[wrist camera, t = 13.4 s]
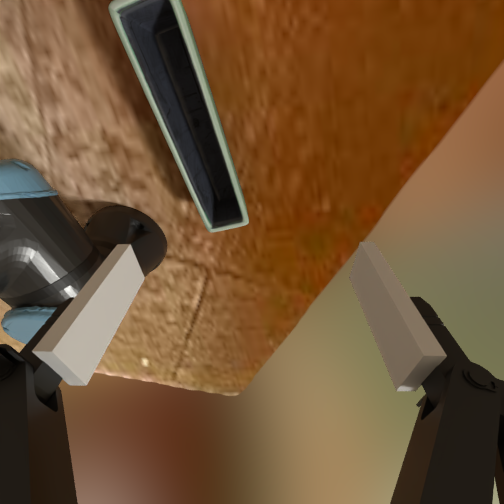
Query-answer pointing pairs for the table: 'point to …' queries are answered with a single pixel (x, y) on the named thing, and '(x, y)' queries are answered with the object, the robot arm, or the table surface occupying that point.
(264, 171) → the table surface
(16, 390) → the robot arm
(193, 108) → the planter
